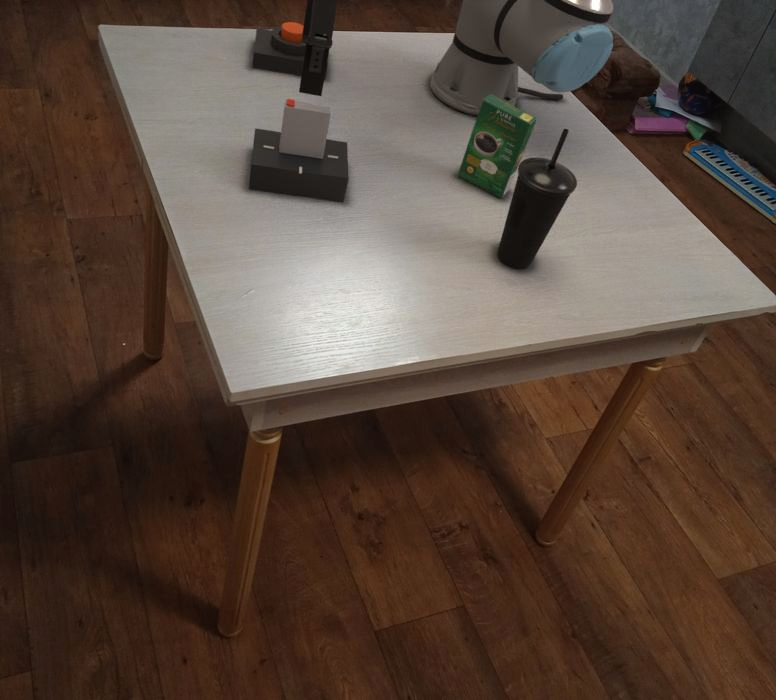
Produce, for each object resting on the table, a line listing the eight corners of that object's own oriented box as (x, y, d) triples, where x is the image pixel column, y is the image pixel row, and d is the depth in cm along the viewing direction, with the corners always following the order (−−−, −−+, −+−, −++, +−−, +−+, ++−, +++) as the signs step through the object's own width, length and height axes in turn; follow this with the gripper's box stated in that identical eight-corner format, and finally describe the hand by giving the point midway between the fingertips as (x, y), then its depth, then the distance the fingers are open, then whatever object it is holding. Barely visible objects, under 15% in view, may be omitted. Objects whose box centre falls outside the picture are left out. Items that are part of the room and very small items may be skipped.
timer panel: (342, 163, 121) (347, 138, 118) (343, 205, 114) (348, 179, 111) (252, 150, 118) (255, 124, 115) (248, 191, 111) (251, 165, 108)
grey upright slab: (322, 152, 114) (331, 105, 109) (322, 159, 113) (331, 112, 108) (279, 145, 113) (285, 97, 108) (278, 152, 112) (285, 104, 107)
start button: (305, 34, 138) (306, 24, 137) (304, 45, 135) (306, 35, 134) (281, 30, 137) (282, 20, 136) (280, 41, 135) (281, 30, 133)
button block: (324, 54, 144) (328, 29, 140) (325, 79, 137) (329, 54, 134) (255, 42, 141) (257, 17, 138) (252, 67, 135) (254, 41, 132)
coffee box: (510, 193, 125) (539, 115, 115) (502, 200, 123) (531, 122, 113) (465, 169, 127) (489, 91, 117) (456, 176, 125) (480, 98, 116)
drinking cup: (539, 283, 110) (596, 154, 96) (484, 266, 110) (533, 136, 96) (542, 250, 116) (597, 124, 102) (490, 234, 116) (537, 106, 102)
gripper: (307, -156, 98) (284, 18, 113) (303, -84, 80) (277, 111, 95) (369, -142, 99) (339, 28, 114) (378, -68, 82) (341, 122, 96)
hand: (311, 66), depth 105 cm, fingers open, 13 cm apart
